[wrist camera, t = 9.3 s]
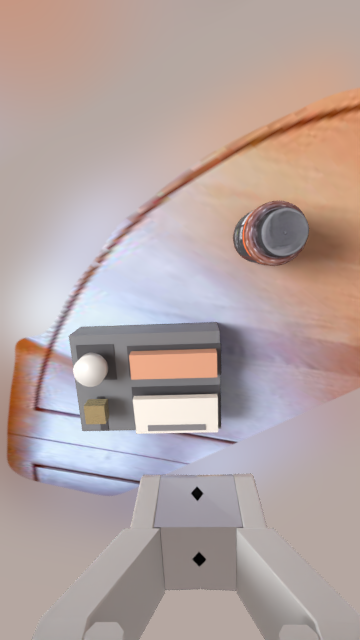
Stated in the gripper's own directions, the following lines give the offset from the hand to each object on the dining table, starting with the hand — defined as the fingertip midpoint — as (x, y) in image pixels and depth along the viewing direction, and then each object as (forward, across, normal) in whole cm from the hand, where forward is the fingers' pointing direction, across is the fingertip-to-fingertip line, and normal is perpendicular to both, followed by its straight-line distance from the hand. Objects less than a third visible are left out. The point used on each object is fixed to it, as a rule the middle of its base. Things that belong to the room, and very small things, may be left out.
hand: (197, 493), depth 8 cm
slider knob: (+27, +12, +12) cm, 32 cm away
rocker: (+26, +3, +13) cm, 29 cm away
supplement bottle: (+31, -8, -7) cm, 33 cm away
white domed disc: (+25, +12, +7) cm, 29 cm away
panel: (+31, +6, +10) cm, 33 cm away
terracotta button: (+26, +3, +7) cm, 27 cm away
